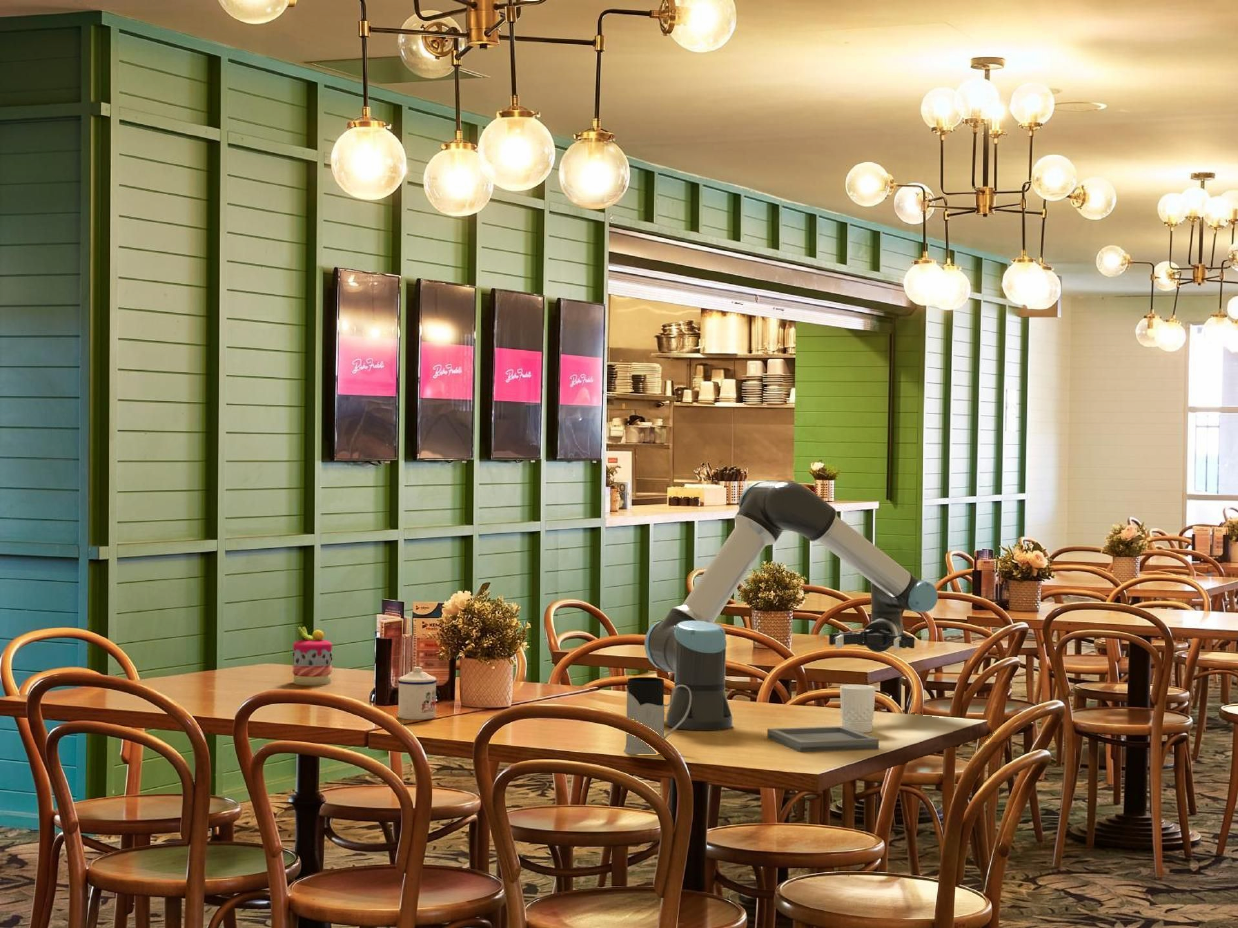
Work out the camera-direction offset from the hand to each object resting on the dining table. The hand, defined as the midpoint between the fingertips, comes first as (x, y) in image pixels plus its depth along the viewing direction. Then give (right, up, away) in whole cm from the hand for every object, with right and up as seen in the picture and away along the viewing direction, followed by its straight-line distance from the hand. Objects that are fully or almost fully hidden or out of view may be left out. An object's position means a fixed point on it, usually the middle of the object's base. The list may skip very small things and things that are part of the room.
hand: (866, 644), depth 370 cm
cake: (-140, -17, +59) cm, 153 cm away
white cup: (-3, -19, -9) cm, 21 cm away
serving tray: (-14, -18, -27) cm, 35 cm away
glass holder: (-49, -18, -40) cm, 66 cm away
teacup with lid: (-104, -17, +3) cm, 106 cm away
